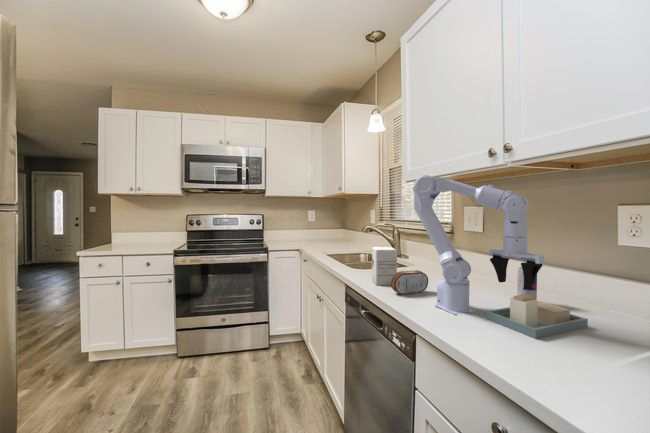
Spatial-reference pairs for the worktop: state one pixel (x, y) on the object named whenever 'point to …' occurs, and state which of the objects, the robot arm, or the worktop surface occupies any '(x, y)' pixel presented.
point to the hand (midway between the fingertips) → (514, 285)
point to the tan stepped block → (552, 313)
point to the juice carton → (524, 310)
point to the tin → (409, 282)
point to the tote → (542, 329)
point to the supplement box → (383, 265)
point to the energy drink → (520, 286)
